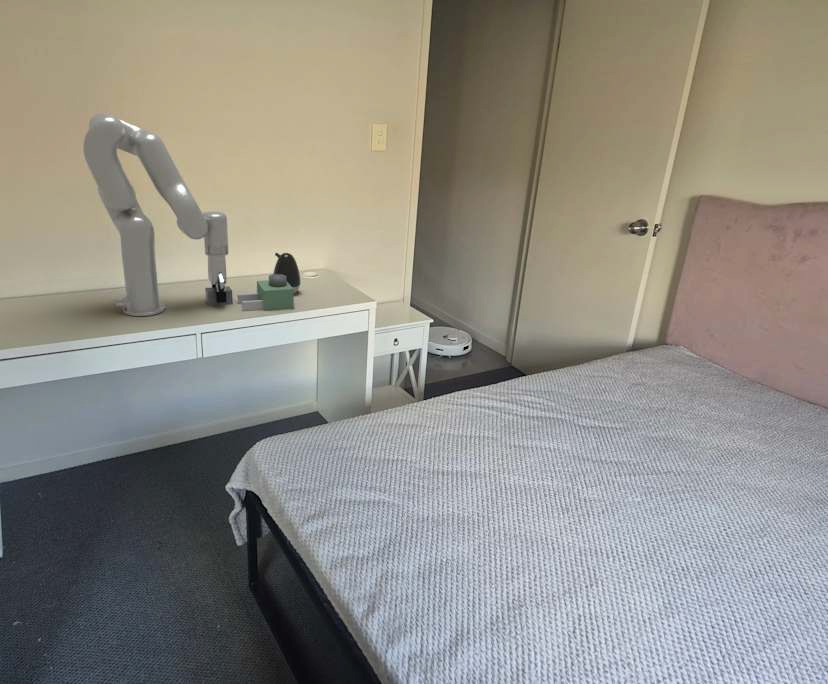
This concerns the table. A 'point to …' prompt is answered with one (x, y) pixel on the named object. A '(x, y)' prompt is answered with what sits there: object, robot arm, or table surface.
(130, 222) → the robot arm
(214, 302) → the dark gray block
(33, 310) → the table surface
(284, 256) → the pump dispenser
